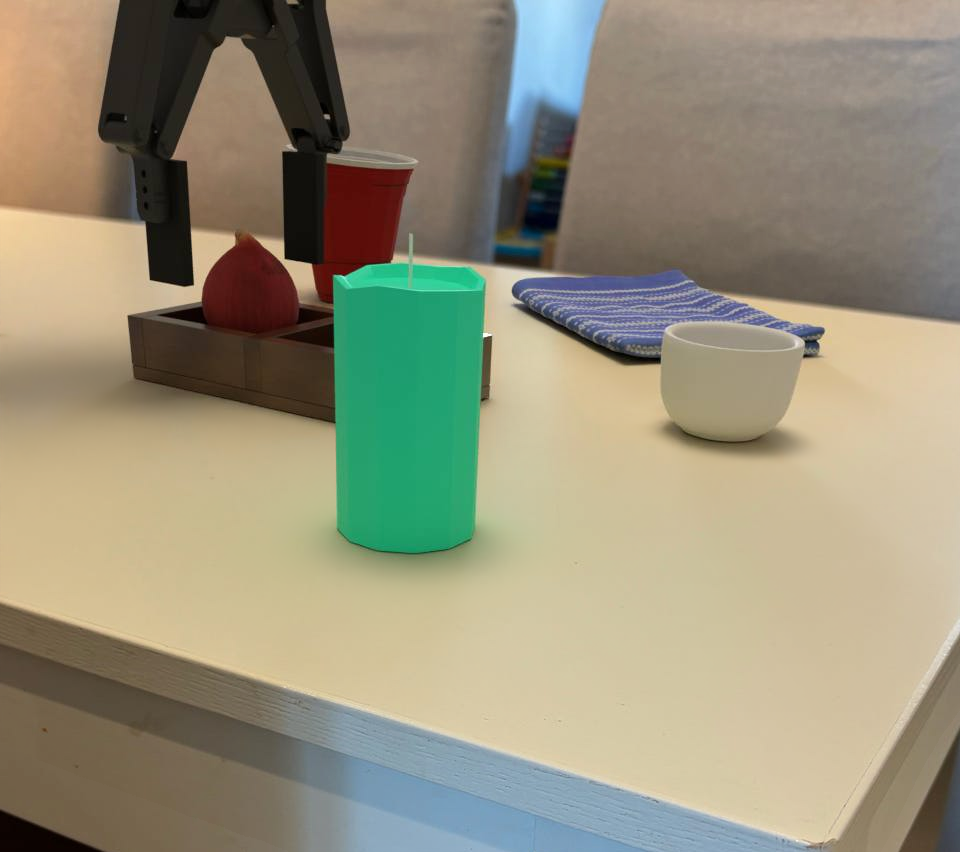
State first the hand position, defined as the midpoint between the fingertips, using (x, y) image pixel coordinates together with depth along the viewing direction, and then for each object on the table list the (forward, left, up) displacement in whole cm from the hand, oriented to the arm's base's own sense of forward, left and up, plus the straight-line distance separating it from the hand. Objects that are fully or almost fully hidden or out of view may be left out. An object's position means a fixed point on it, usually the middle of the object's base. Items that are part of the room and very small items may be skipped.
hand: (242, 271), depth 67 cm
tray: (+5, 0, -6) cm, 8 cm away
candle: (+23, -16, -6) cm, 29 cm away
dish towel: (+14, +33, -6) cm, 36 cm away
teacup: (+28, +8, -6) cm, 30 cm away
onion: (0, 0, -6) cm, 6 cm away
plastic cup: (-11, +26, -6) cm, 29 cm away
